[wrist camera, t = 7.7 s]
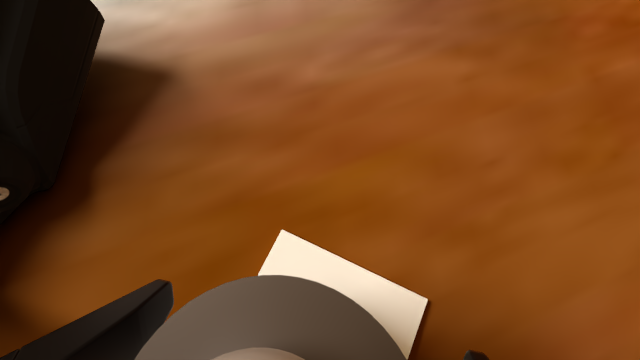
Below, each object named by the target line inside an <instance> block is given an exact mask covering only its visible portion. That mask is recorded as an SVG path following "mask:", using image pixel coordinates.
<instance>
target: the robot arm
mask: <svg viewBox="0 0 640 360" xmlns="http://www.w3.org/2000/svg"><path fill="white" fill-rule="evenodd" d="M173 304H174V298H173V288H172V283H171V282H169V281H165V280H161V279H158V280H155V281H153V282H151V283H149V284H147V285H145V286H143V287H141V288H139V289H137V290H135V291H133V292H131V293H129V294H127V295H125V296H123V297H121V298H119V299H117V300H115V301H113V302H111V303H109V304H107V305H105V306H103V307H101V308H99V309H97V310H95V311H93V312H91V313H89V314H87V315H85V316H83V317H81V318H79V319H77V320H75V321H73V322H71V323H69V324H67V325H65V326H63V327H61V328H59V329H57V330H55V331H53V332H51V333H49V334H47V335H45V336H43V337H41V338H39V339H37V340H35V341H33V342H31V343H29V344H27V345H25V346H23V347H22V348H21V349H17V350H15V351H13V352H11V353H9V354H7V355H5V356H3V357H1V358H0V360H134V359H135V358H136V356H137V355H138V353H139V352H140V350H141V349H142V347H143V346H144V345H145V344H146V343H147V341H148V340H149V339H150V338H151V337H152V335H153V334H154V333H155V332H156V331H157V329H158V328H160V327H161V326H162V325H163V324H164V322H165V320H166V318H167V316H168V315H169V313H170V311H171V309H172V307H173ZM463 360H489V358H488V357H487V356H486V355H485V354H484V353H482V352H478V351H473V350H468V351H467V352H466V354H465V356H464V359H463Z"/></svg>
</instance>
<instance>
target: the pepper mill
mask: <svg viewBox="0 0 640 360" xmlns="http://www.w3.org/2000/svg"><path fill="white" fill-rule="evenodd" d="M134 360H407V359H406V358H405V356H404V355H403V353H402V351H401V350H400V348H399V346H398V345H397V344H396V342H395V341H394V340H393V339H392V337H391V336H390V335H389V333H388V332H387V331H386V330H385V328H384V327H383V326H382V325H381V324H380V323H379V322H378V321H377V320H376V319H375V318H374V317H373V316H372V315H371V314H370V313H369V312H368V311H366V310H365V309H364V308H363V307H361V306H360V305H359V304H357V303H356V302H355V301H354V300H352V299H350V298H349V297H347V296H345V295H344V294H342V293H340V292H339V291H337V290H335V289H333V288H330V287H328V286H326V285H323V284H321V283H318V282H315V281H312V280H308V279H304V278H300V277H293V276H285V275H260V276H254V277H247V278H242V279H239V280H235V281H232V282H228V283H225V284H223V285H220V286H218V287H216V288H214V289H211V290H209V291H207V292H205V293H203V294H202V295H200V296H198V297H197V298H195V299H193V300H192V301H190V302H189V303H187V304H186V305H185V306H183V307H182V308H181V309H180V310H178V311H177V312H176V313H174V314H173V315H172V316H171V317H170V318H169V319H168V320H167V321H166V322H165V323H164V324H163V325H162V326H161V327H160V328H158V329H157V331H156V332H155V333H154V334H153V335H152V337H151V338H150V339H149V340H148V341H147V343H146V344H145V345H144V346H143V347H142V349H141V350H140V352H139V353H138V355H137V356H136V358H135V359H134Z"/></svg>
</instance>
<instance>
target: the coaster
mask: <svg viewBox="0 0 640 360" xmlns="http://www.w3.org/2000/svg"><path fill="white" fill-rule="evenodd" d="M260 275H285V276H293V277H300V278H304V279H308V280H312V281H315V282H318V283H321V284H323V285H326V286H328V287H330V288H333V289H335V290H337V291H339V292H340V293H342V294H344V295H345V296H347V297H349V298H350V299H352V300H354V301H355V302H356V303H357V304H359V305H360V306H361V307H363V308H364V309H365V310H366V311H368V312H369V313H370V314H371V315H372V316H373V317H374V318H375V319H376V320H377V321H378V322H379V323H380V324H381V325H382V326H383V327H384V328H385V330H386V331H387V332H388V333H389V335H390V336H391V337H392V339H393V340H394V341H395V342H396V344H397V345H398V346H399V348H400V350H401V351H402V353H403V355H404V356H405V358H406V359H407V360H408V357H409V354H410V351H411V348H412V345H413V342H414V339H415V336H416V333H417V330H418V327H419V324H420V321H421V318H422V315H423V313H424V310H425V307H426V304H427V301H428V299H426V298H424V297H422V296H420V295H418V294H416V293H414V292H411V291H409V290H407V289H405V288H403V287H401V286H399V285H397V284H395V283H393V282H391V281H389V280H386V279H384V278H382V277H380V276H378V275H376V274H374V273H372V272H370V271H368V270H366V269H364V268H361V267H359V266H357V265H355V264H353V263H351V262H349V261H347V260H345V259H343V258H341V257H339V256H336V255H334V254H332V253H330V252H328V251H326V250H324V249H322V248H320V247H318V246H316V245H314V244H311V243H309V242H307V241H305V240H303V239H301V238H299V237H297V236H295V235H293V234H291V233H289V232H286V231H284V230H281V232H280V234H279V236H278V238H277V240H276V242H275V244H274V246H273V247H272V249H271V251H270V253H269V255H268V257H267V259H266V261H265V263H264V264H263V266H262V268H261V270H260V272H259V274H258V276H260Z"/></svg>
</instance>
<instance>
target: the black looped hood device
mask: <svg viewBox="0 0 640 360" xmlns="http://www.w3.org/2000/svg"><path fill="white" fill-rule="evenodd" d="M104 21H105V20H104V18H103V16H102V15H101V13H100V11H98V9H97V7H96V6H95V5H94V4H93V3H92V2H91V1H90V0H0V224H1V223H2V222H3V221H4V220H5V219H6V218H7V217H8V216H9V215H10V214H11V213H12V212H13V211H14V210H15V209H16V208H17V207H18V206H19V205H20V204H21V203H22V202H23V201H24V200H25V199H26V198H27V197H28V196H29V195H31V194H33V193H35V192H38V191H43V190H48V189H49V188H50V187H51V186H52V185H53V184H54V181H55V178H56V175H57V172H58V169H59V165H60V162H61V159H62V156H63V153H64V149H65V146H66V143H67V140H68V136H69V133H70V130H71V127H72V124H73V120H74V117H75V114H76V111H77V108H78V104H79V101H80V98H81V95H82V91H83V88H84V85H85V82H86V79H87V75H88V72H89V69H90V66H91V63H92V59H93V56H94V53H95V50H96V46H97V43H98V40H99V37H100V34H101V30H102V27H103V24H104Z"/></svg>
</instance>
